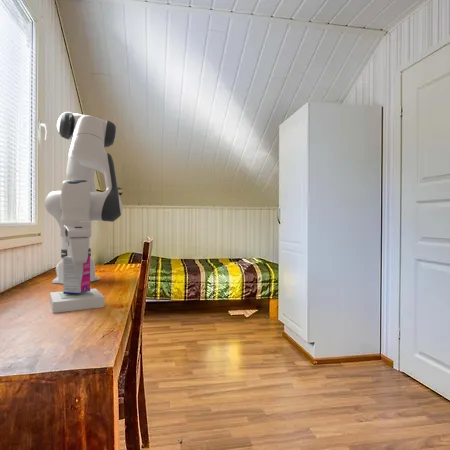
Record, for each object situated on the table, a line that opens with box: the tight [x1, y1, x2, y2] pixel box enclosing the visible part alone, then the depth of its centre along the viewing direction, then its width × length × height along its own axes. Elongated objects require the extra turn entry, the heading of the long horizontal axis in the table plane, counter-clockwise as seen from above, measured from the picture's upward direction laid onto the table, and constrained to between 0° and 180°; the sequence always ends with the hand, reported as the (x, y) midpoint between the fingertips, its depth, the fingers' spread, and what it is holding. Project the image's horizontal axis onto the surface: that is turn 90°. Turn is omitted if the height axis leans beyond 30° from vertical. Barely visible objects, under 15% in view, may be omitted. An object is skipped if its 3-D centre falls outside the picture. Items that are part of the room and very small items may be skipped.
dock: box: [49, 288, 105, 314], centre depth 111 cm, size 17×14×3 cm
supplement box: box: [62, 256, 91, 295], centre depth 110 cm, size 6×6×12 cm
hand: (76, 275), depth 110 cm, fingers closed on supplement box, 8 cm apart
